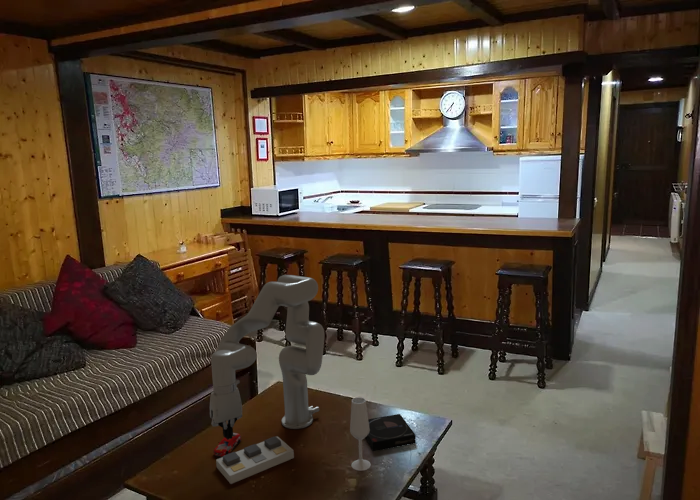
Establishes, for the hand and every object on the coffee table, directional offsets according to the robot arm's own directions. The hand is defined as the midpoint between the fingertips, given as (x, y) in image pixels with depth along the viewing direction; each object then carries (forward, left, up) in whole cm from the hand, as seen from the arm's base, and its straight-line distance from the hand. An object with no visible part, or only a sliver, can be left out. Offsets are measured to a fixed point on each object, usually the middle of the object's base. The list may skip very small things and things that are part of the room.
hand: (228, 437), depth 183 cm
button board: (-8, +2, -12) cm, 15 cm away
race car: (-5, -14, -13) cm, 19 cm away
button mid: (-8, 0, -10) cm, 13 cm away
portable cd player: (-55, +17, -13) cm, 59 cm away
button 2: (-16, 0, -10) cm, 20 cm away
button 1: (0, 0, -10) cm, 11 cm away
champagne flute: (-36, +26, -12) cm, 47 cm away
